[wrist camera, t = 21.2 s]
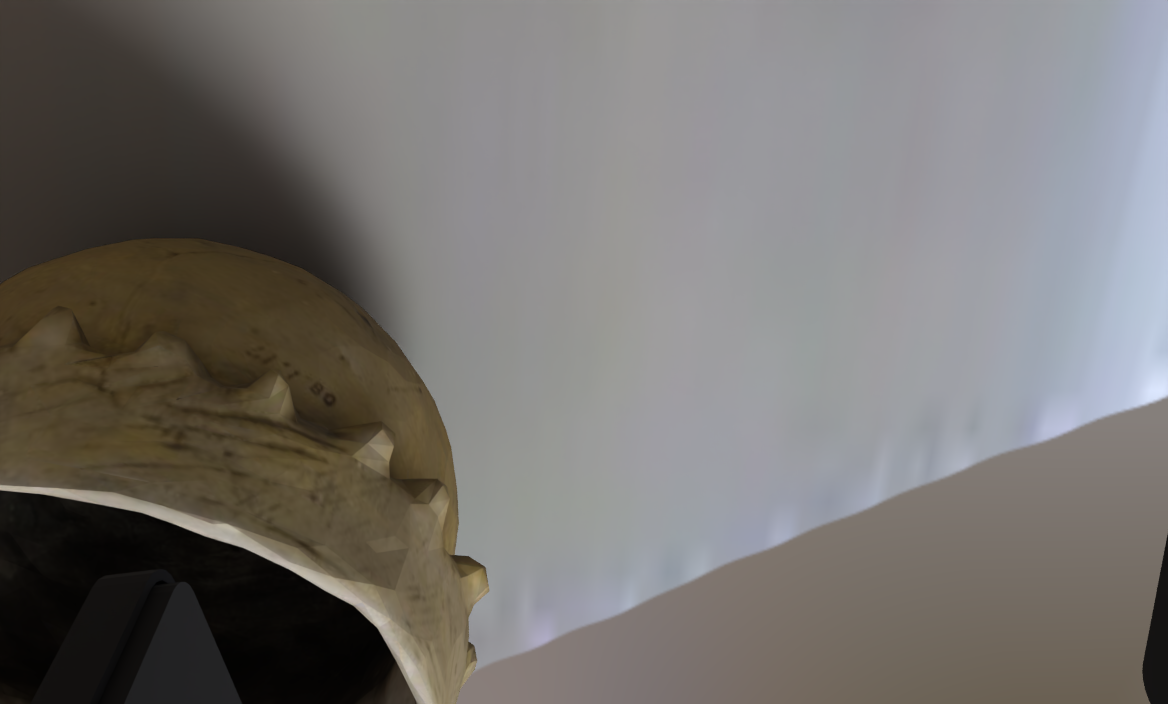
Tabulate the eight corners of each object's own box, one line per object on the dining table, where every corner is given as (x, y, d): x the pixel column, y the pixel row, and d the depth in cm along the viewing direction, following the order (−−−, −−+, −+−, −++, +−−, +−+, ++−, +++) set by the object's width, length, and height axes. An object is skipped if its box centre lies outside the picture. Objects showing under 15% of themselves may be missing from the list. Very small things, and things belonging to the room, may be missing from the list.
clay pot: (512, 144, 39) (480, 475, 22) (499, 577, 50) (470, 1024, 33) (-72, 113, 38) (-579, 435, 21) (43, 562, 49) (-232, 1018, 32)
